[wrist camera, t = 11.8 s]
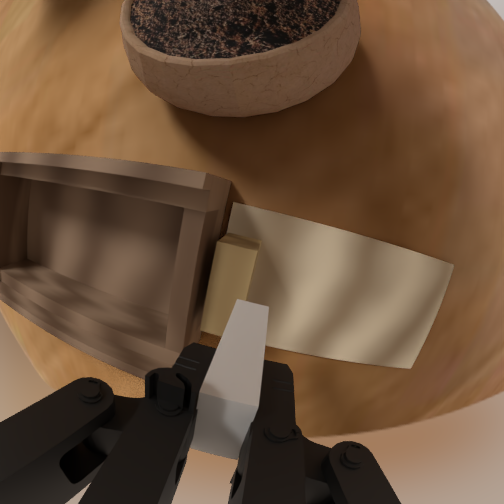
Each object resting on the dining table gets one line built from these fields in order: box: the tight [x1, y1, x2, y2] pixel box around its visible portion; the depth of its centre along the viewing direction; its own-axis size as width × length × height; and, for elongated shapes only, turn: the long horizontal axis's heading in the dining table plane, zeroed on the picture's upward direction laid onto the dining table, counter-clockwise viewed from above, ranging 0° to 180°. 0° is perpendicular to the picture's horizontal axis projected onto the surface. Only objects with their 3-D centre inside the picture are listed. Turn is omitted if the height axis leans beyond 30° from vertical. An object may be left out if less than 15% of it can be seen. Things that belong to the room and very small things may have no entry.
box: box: [0, 152, 231, 379], centre depth 17 cm, size 22×13×7 cm, turn 77°
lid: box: [200, 202, 454, 369], centre depth 18 cm, size 19×10×5 cm, turn 77°
